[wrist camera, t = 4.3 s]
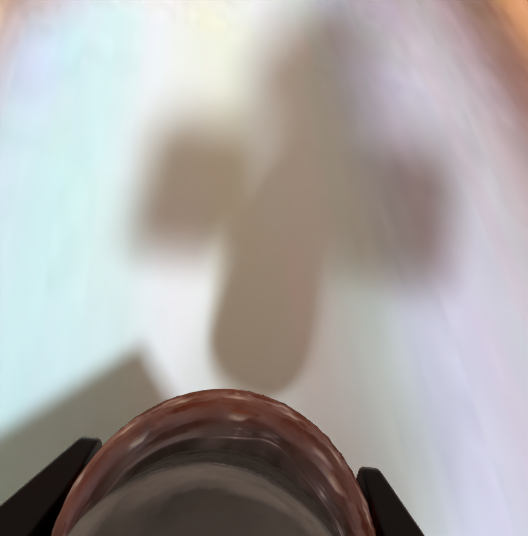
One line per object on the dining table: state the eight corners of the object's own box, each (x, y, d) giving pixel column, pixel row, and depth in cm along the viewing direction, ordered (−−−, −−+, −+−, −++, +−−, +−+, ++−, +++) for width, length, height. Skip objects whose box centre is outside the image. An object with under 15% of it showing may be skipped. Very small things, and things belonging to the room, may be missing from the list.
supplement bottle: (338, 511, 14) (610, 867, 4) (192, 601, 13) (-48, 1493, 2) (267, 366, 16) (306, 307, 5) (133, 435, 15) (-170, 543, 4)
